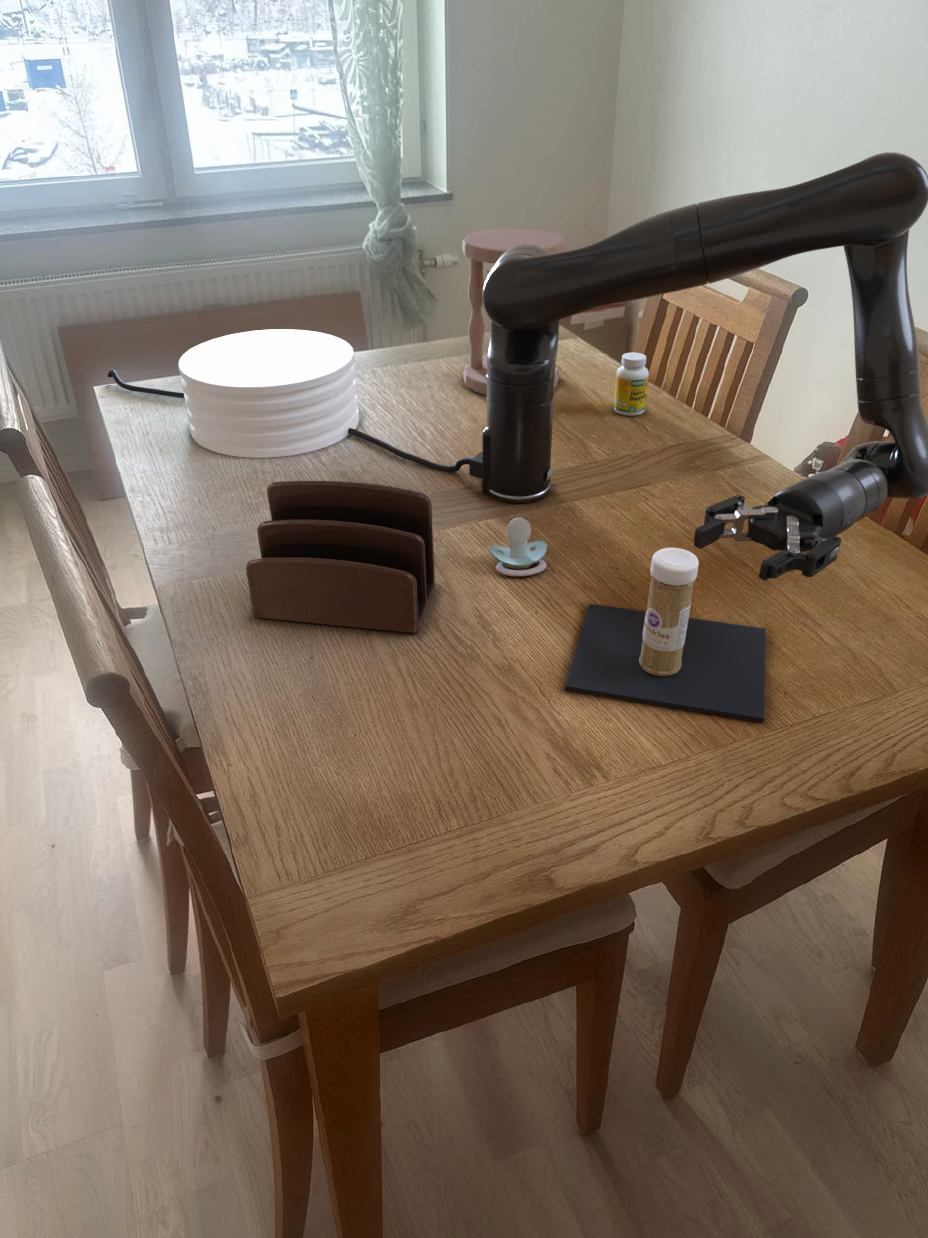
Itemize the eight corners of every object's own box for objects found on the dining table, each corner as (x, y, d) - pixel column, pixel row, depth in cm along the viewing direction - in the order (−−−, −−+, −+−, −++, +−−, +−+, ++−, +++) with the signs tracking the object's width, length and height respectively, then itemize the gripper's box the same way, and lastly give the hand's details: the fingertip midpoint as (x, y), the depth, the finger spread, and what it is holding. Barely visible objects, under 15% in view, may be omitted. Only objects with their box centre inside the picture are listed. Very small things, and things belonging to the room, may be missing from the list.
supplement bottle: (630, 402, 161) (635, 348, 156) (651, 412, 158) (657, 357, 152) (607, 409, 159) (611, 354, 153) (627, 419, 155) (633, 363, 150)
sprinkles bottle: (630, 667, 98) (643, 558, 90) (652, 647, 101) (667, 540, 93) (668, 684, 96) (685, 574, 88) (689, 663, 98) (707, 555, 91)
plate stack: (160, 421, 156) (146, 354, 150) (298, 380, 171) (291, 318, 165) (247, 474, 139) (236, 401, 132) (392, 423, 154) (388, 356, 148)
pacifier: (553, 576, 115) (541, 551, 119) (556, 533, 111) (544, 509, 116) (495, 582, 114) (486, 556, 118) (496, 539, 110) (487, 514, 115)
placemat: (564, 690, 96) (565, 685, 96) (589, 607, 109) (589, 603, 108) (763, 723, 91) (764, 718, 91) (764, 632, 104) (765, 628, 104)
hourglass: (571, 372, 174) (579, 232, 160) (539, 404, 161) (545, 254, 147) (485, 360, 180) (486, 224, 166) (448, 389, 167) (445, 245, 153)
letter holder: (281, 575, 115) (266, 472, 107) (436, 589, 112) (433, 484, 104) (252, 619, 107) (234, 512, 99) (418, 636, 104) (413, 526, 96)
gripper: (770, 459, 108) (681, 500, 100) (881, 502, 99) (793, 551, 91) (759, 515, 113) (672, 559, 104) (864, 561, 104) (779, 613, 95)
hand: (729, 555), depth 98 cm, fingers open, 8 cm apart
